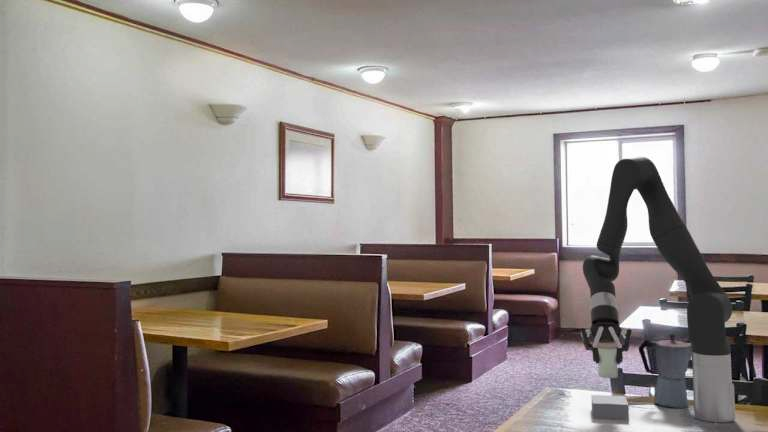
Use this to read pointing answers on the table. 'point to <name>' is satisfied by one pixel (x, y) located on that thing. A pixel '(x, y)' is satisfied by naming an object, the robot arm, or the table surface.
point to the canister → (607, 359)
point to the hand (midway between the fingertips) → (608, 362)
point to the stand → (610, 407)
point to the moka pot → (669, 370)
